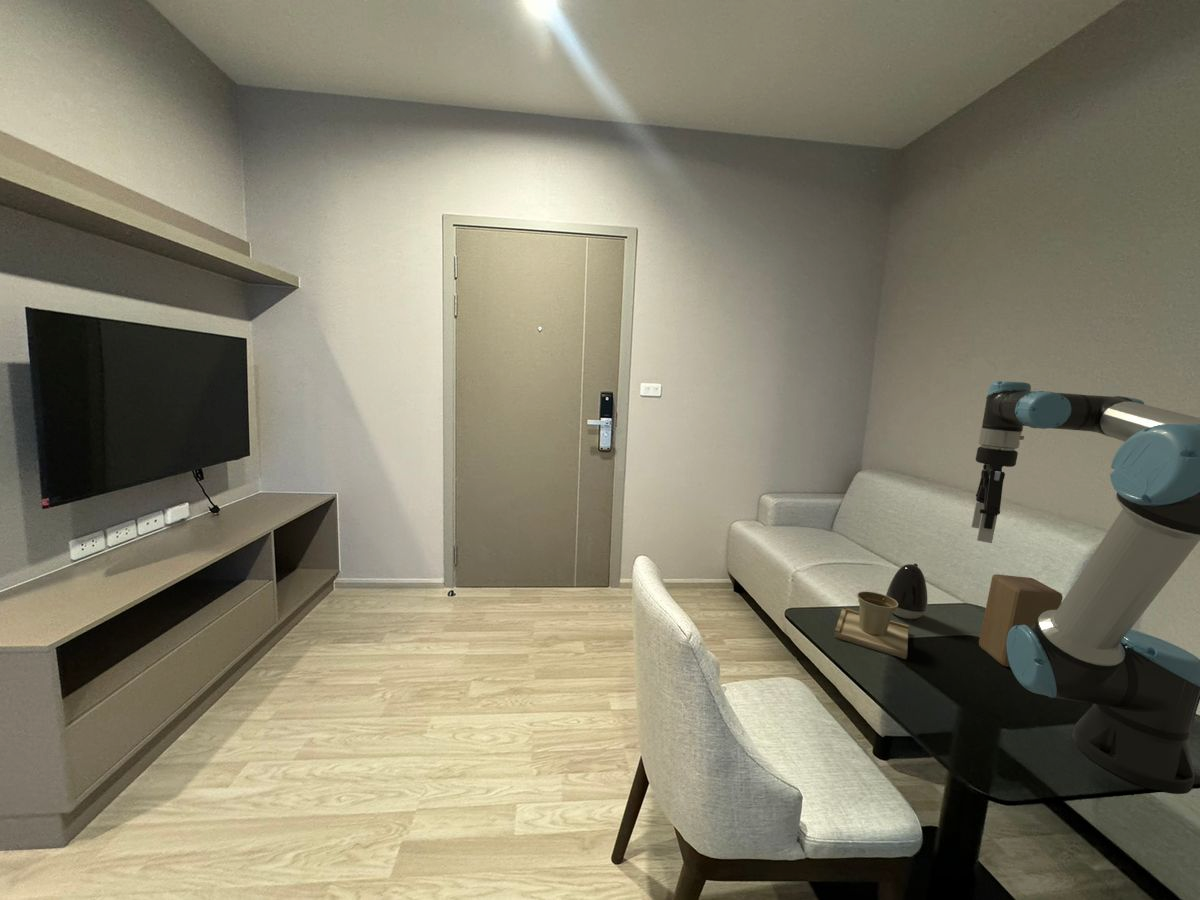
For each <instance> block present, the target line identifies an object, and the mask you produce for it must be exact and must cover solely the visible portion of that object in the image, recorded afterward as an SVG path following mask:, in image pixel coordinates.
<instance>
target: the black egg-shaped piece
mask: <svg viewBox="0 0 1200 900" xmlns="http://www.w3.org/2000/svg"><path fill="white" fill-rule="evenodd" d="M927 589H928V588H927V582H926V578H925V576H924V573H923V571H922V569H921V568H920V567H918V564H917V563H913V564H911V563H908V564H904V565H902V566H901V567H900V568H899V569H898V570H897V571H896V573H895V574H894V575H893V577H892V580H891V582H890V584H889V586H888V587H887V592H886V594H885V595H886V596H888V597H890V598H892V599H894V600H895V601H897V603H898V607H897V608H896V609H895V611H894V612H893V614H894V615H895V616H897V617H899V618H902V619H906V620H916V619H919V618H921V617H922V616H923V615H924V613H925V612H926V611H927V610H928V590H927Z"/></svg>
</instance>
